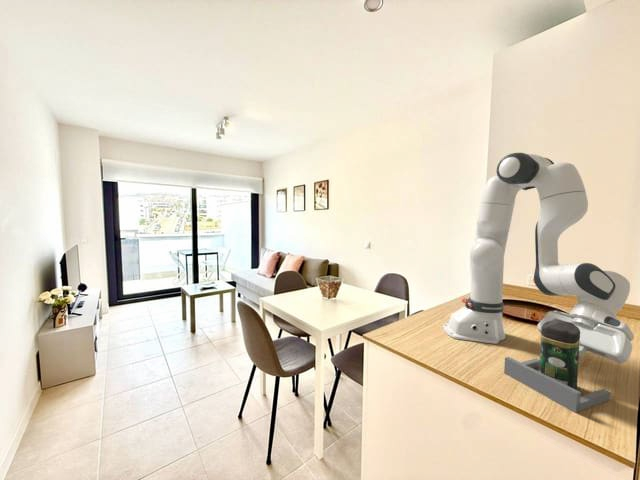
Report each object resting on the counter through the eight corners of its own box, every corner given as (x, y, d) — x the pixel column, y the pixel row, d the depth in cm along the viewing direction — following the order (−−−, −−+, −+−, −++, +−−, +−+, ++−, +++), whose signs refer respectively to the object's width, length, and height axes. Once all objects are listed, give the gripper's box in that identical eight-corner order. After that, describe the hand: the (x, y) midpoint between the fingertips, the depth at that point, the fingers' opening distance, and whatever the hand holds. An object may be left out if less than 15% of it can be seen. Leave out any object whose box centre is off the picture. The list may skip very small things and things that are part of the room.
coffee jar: (543, 373, 82) (547, 314, 80) (579, 386, 76) (583, 322, 74) (534, 386, 76) (537, 323, 75) (572, 401, 70) (576, 332, 68)
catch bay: (535, 364, 87) (536, 349, 87) (610, 399, 70) (611, 381, 70) (504, 373, 83) (504, 357, 82) (575, 412, 66) (577, 393, 65)
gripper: (545, 302, 89) (524, 336, 86) (634, 326, 69) (609, 370, 67) (554, 314, 91) (533, 347, 88) (642, 339, 71) (619, 383, 69)
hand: (566, 357), depth 77 cm, fingers closed, pressing on coffee jar
